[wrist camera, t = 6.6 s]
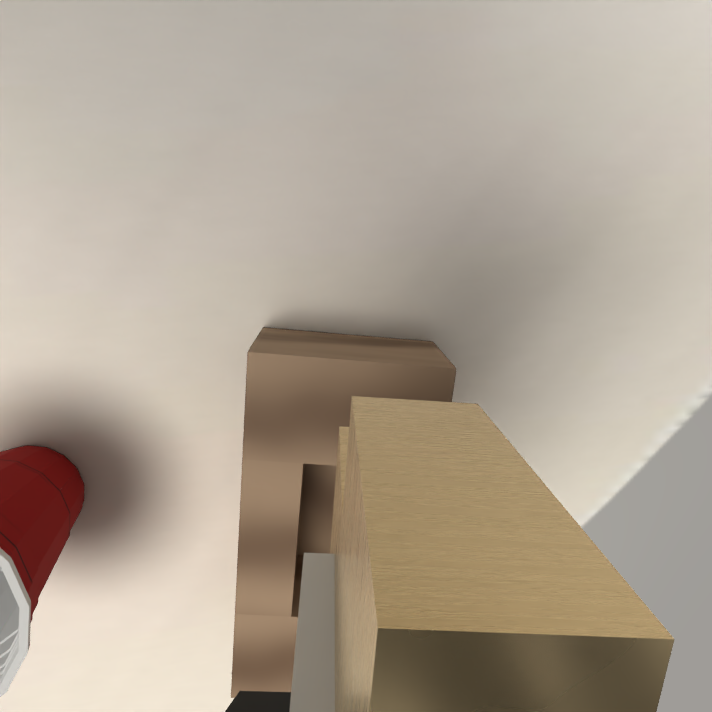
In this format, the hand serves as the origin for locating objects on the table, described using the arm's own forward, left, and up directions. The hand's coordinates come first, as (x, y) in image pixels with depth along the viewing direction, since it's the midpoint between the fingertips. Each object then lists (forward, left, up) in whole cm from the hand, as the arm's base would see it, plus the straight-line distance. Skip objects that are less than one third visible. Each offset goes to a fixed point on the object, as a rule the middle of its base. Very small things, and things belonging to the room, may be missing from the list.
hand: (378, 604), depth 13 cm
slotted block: (+7, 0, -19) cm, 20 cm away
